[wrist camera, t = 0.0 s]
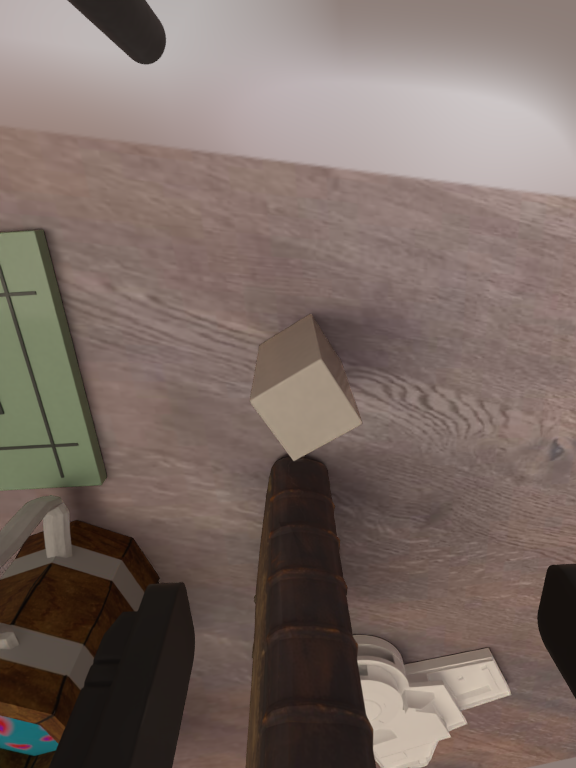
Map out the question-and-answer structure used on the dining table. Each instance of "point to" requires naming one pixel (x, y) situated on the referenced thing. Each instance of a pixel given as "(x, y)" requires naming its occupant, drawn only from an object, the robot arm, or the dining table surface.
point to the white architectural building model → (421, 698)
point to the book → (304, 634)
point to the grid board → (40, 377)
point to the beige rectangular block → (303, 389)
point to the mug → (56, 620)
